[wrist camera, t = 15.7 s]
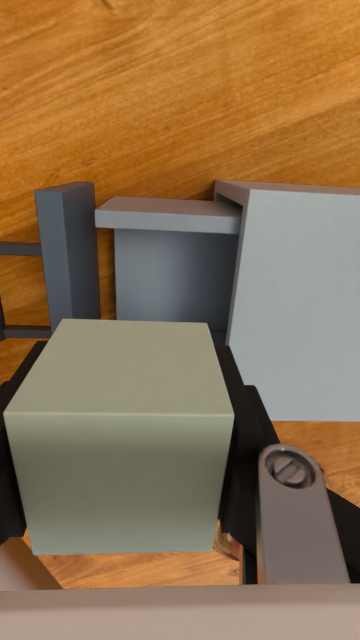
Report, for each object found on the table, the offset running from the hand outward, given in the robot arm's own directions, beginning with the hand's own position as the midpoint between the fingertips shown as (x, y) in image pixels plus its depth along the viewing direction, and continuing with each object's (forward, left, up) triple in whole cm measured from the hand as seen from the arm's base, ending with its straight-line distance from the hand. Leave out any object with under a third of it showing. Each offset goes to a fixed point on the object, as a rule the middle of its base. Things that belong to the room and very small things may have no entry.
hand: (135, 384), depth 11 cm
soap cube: (0, 0, 0) cm, 0 cm away
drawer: (0, -1, -15) cm, 15 cm away
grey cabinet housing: (+3, +11, -15) cm, 19 cm away
